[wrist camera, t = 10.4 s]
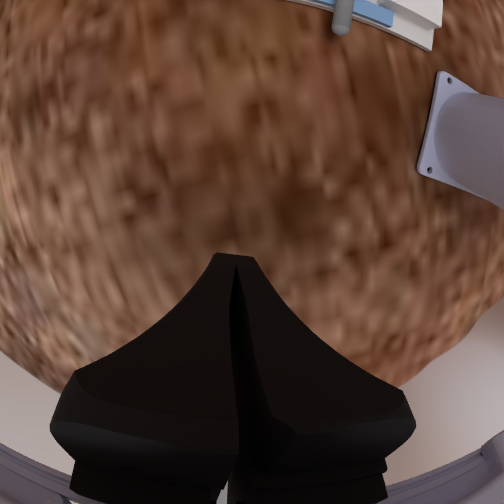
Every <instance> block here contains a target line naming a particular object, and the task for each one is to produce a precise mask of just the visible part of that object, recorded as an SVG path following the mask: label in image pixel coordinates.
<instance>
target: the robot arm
mask: <svg viewBox="0 0 504 504" xmlns="http://www.w3.org/2000/svg"><path fill="white" fill-rule="evenodd" d="M447 78H448V79H449V83H448V82H447ZM428 167H429V168H430V169H429V171H428V172H427V169H428ZM417 171H418V172H419V173H420V174H422V175H425V176H427V177H430V178H433V179H436V180H439V181H441V182H444V183H447V184H449V185H452V186H454V187H457V188H459V189H462V190H464V191H467V192H469V193H472V194H474V195H476V196H479V197H481V198H483V199H485V200H488V201H490V202H491V203H493V204H494V205H496V206H498V207H499V208H501V209H502V210H504V98H500V97H494V96H489V95H482V94H479V93H478V92H476V91H475V90H474V89H472V88H471V87H469V86H468V85H466V84H464V83H463V82H461V81H460V80H458V79H457V78H455V77H453V76H452V75H450V74H448V73H447V72H445V71H439V72H438V73H437V77H436V83H435V89H434V95H433V100H432V105H431V110H430V115H429V120H428V124H427V129H426V133H425V137H424V141H423V145H422V149H421V153H420V156H419V160H418V164H417ZM415 428H416V421H415V419H414V416H413V414H412V411H411V409H410V407H409V404H408V402H407V399H406V397H405V395H404V393H403V391H402V390H400V389H398V388H396V387H394V386H392V385H390V384H388V383H387V382H385V381H383V380H381V379H379V378H377V377H375V376H373V375H371V374H370V373H368V372H366V371H365V370H363V369H361V368H360V367H358V366H357V365H355V364H354V363H352V362H350V361H349V360H348V359H346V358H345V357H343V356H342V355H340V354H339V353H338V352H336V351H335V350H334V349H333V348H331V347H330V346H329V345H328V344H326V343H325V342H324V341H322V340H321V339H320V338H319V337H318V336H317V335H315V334H314V333H313V332H312V331H311V330H310V329H309V328H308V327H307V326H306V325H305V324H304V323H303V322H302V321H301V320H300V319H299V318H298V317H297V316H296V315H295V314H294V313H293V312H292V311H291V309H290V308H289V307H288V306H287V305H286V304H285V302H284V301H283V300H282V299H281V297H280V296H279V295H278V293H277V292H276V291H275V289H274V288H273V286H272V285H271V284H270V282H269V281H268V279H267V278H266V276H265V275H264V273H263V271H262V270H261V268H260V267H259V265H258V263H257V262H256V260H255V259H254V257H250V256H241V255H233V254H225V253H215V254H214V255H213V257H212V259H211V261H210V263H209V265H208V267H207V268H206V270H205V271H204V273H203V274H202V275H201V277H200V278H199V279H198V281H197V282H196V283H195V285H194V286H193V287H192V288H191V289H190V291H189V292H188V293H187V294H186V295H185V296H184V297H183V299H182V300H181V301H180V302H179V303H178V304H177V305H176V306H175V307H174V308H173V309H172V310H171V311H169V312H168V313H167V314H166V315H165V316H164V317H163V318H162V319H160V320H159V321H158V322H157V323H155V324H154V325H153V326H152V327H150V328H149V329H148V330H147V331H145V332H144V333H143V334H141V335H140V336H138V337H137V338H135V339H134V340H132V341H130V342H129V343H127V344H126V345H124V346H123V347H121V348H119V349H118V350H116V351H114V352H113V353H111V354H109V355H107V356H105V357H103V358H101V359H99V360H97V361H95V362H93V363H91V364H89V365H87V366H84V367H82V368H80V369H78V370H75V371H74V373H73V374H72V376H71V378H70V380H69V381H68V383H67V385H66V386H65V388H64V390H63V392H62V394H61V396H60V398H59V401H58V404H57V406H56V409H55V412H54V414H53V417H52V420H51V423H50V432H51V434H52V435H53V437H54V438H55V440H56V441H57V442H58V443H59V445H60V446H61V447H62V448H63V449H64V450H65V451H66V452H67V453H68V454H69V455H70V456H71V457H72V458H73V459H74V460H75V464H74V468H73V473H72V476H71V475H68V474H65V473H62V472H60V471H58V470H55V469H52V468H50V467H48V466H46V465H43V464H41V463H39V462H36V461H34V460H32V459H30V458H28V457H26V456H24V455H22V454H20V453H18V452H16V451H14V450H12V449H11V448H9V447H7V446H5V445H3V444H1V443H0V504H71V502H70V501H69V500H71V501H73V502H76V503H79V504H216V501H217V498H218V496H219V494H220V492H221V489H224V487H225V485H226V483H227V481H228V493H227V504H504V430H503V431H502V432H500V433H498V434H497V435H495V436H494V437H493V438H491V439H490V440H489V441H487V442H486V443H485V444H484V445H482V447H481V448H480V449H478V450H476V451H474V452H472V453H470V454H468V455H466V456H464V457H462V458H460V459H457V460H455V461H453V462H451V463H449V464H446V465H444V466H442V467H439V468H437V469H434V470H432V471H430V472H427V473H424V474H422V475H419V476H416V477H414V478H410V479H408V480H404V481H401V482H398V483H395V484H392V485H388V486H385V482H384V479H383V475H382V473H384V472H386V471H387V465H386V461H385V458H386V457H387V456H388V455H390V454H391V453H392V452H394V451H395V450H396V449H397V448H398V447H400V446H401V445H402V444H403V443H404V442H406V441H407V440H408V439H409V438H410V437H411V435H412V434H413V432H414V430H415Z"/></svg>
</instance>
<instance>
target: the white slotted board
mask: <svg viewBox="0 0 504 504" xmlns="http://www.w3.org/2000/svg"><path fill="white" fill-rule="evenodd" d="M287 1H292V2H297V3H301V4H305V5H309V6H313V7H317V8H320V9H324V10H327V11H331V12H334V9H335V3H336V0H287ZM442 7H443V0H355V1H354V8H353V14H352V19H355V20H358V21H361V22H363V23H366V24H369V25H371V26H374V27H376V28H379V29H381V30H383V31H386V32H388V33H390V34H393V35H395V36H397V37H399V38H401V39H403V40H406V41H408V42H410V43H412V44H414V45H416V46H418V47H420V48H422V49H423V50H425V51H432V42H433V32H434V29H435V28H440V27H441V25H442Z"/></svg>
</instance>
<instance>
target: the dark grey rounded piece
mask: <svg viewBox="0 0 504 504" xmlns="http://www.w3.org/2000/svg"><path fill="white" fill-rule="evenodd" d="M354 1H355V0H336V3H335V9H334V15H333V21H332V31H333V32H334V33H335V34H336V35H339V36H345V35H347V34H348V33H349V31H350V26H351V20H352V14H353V8H354Z"/></svg>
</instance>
